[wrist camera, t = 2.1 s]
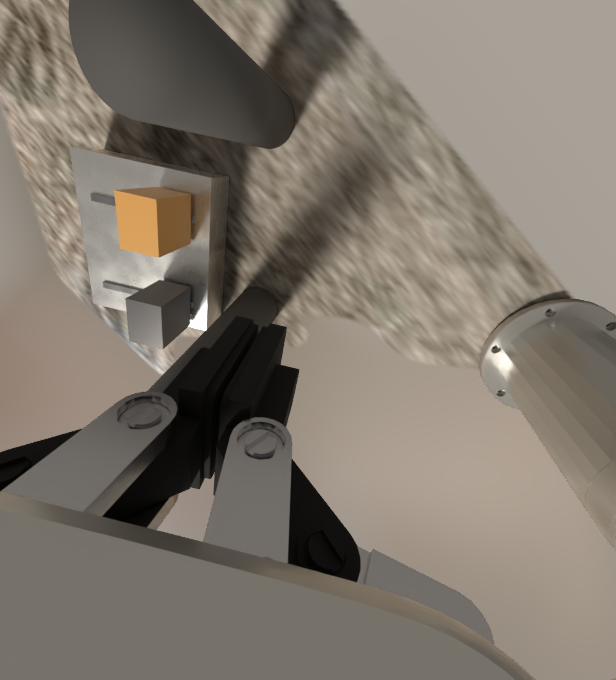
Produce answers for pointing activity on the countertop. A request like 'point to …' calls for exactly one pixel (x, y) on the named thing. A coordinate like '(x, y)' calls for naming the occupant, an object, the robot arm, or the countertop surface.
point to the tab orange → (153, 220)
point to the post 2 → (247, 305)
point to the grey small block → (158, 313)
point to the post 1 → (177, 71)
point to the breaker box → (139, 269)
